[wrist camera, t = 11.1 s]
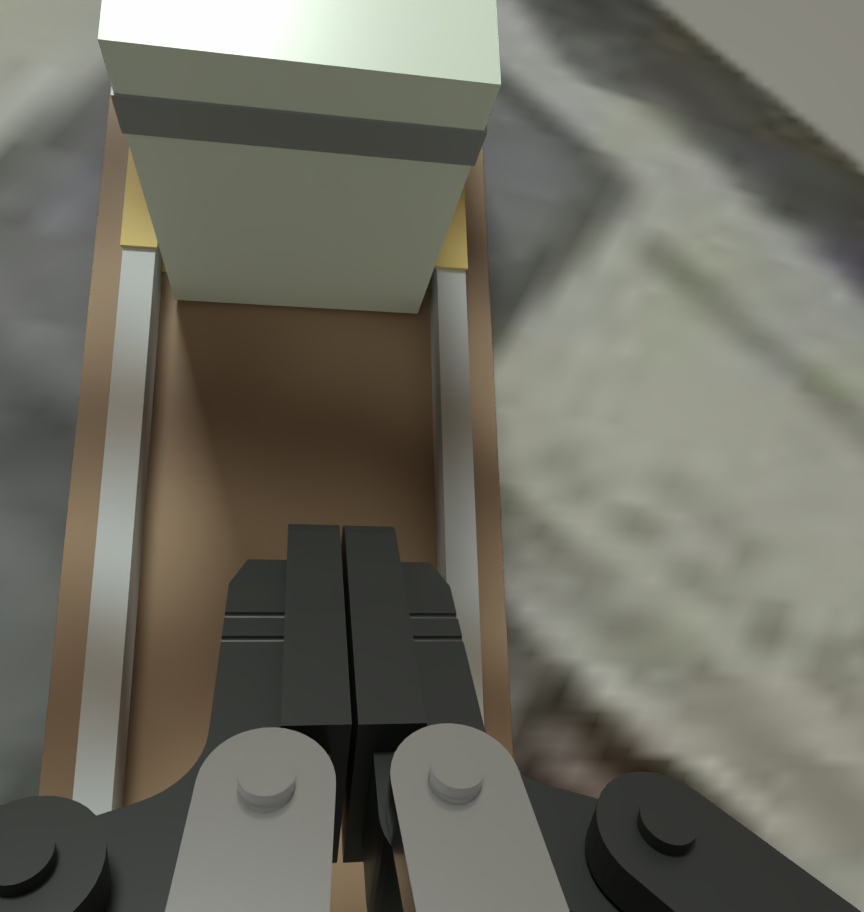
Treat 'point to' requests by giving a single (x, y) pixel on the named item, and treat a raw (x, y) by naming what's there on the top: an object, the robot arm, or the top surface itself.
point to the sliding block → (302, 140)
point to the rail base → (255, 485)
